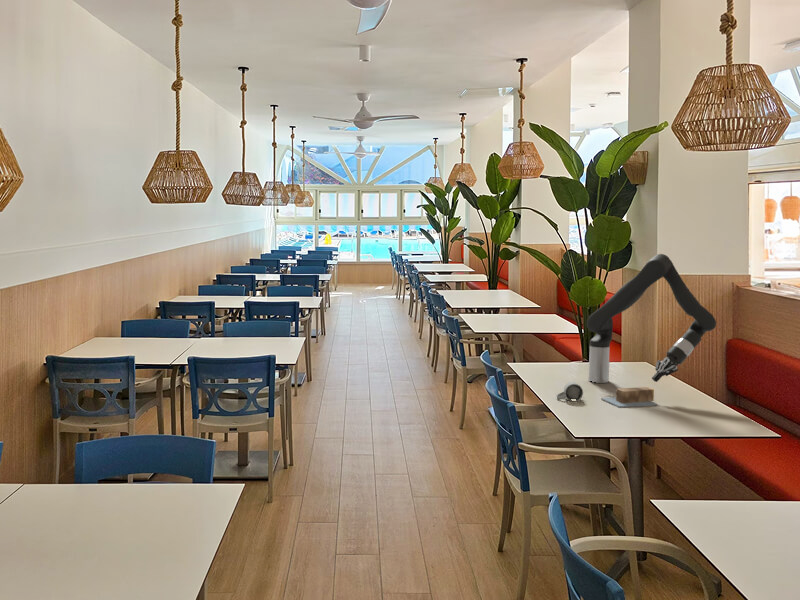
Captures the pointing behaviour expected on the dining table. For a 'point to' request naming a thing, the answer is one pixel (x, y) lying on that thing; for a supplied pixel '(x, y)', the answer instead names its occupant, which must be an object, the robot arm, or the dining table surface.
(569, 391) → the ceramic mug
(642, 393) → the walnut block
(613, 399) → the slate mat
